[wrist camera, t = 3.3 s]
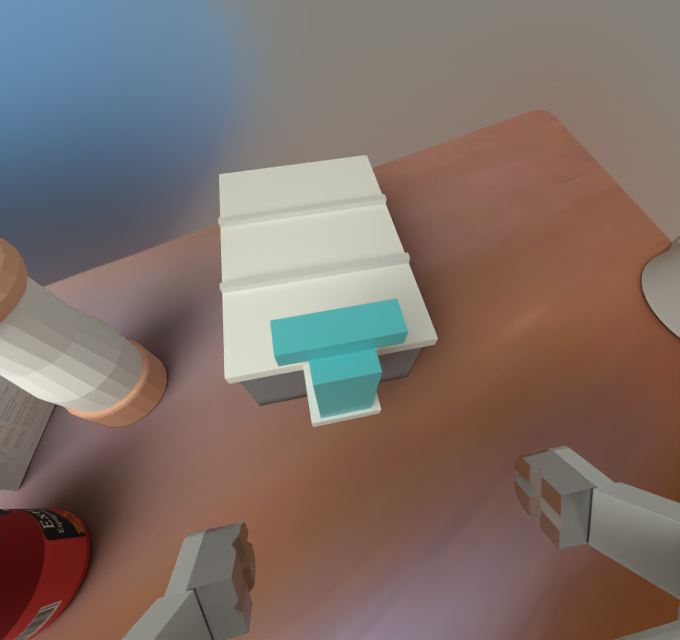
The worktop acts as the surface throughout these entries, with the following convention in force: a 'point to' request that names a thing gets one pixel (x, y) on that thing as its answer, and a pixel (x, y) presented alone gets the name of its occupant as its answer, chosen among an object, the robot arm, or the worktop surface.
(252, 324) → the lid
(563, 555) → the worktop surface
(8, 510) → the canned food
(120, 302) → the worktop surface
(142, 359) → the pepper shaker
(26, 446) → the small box
